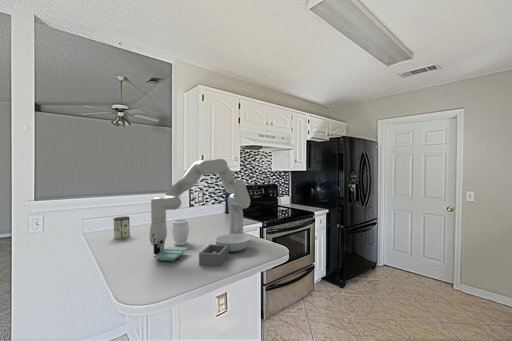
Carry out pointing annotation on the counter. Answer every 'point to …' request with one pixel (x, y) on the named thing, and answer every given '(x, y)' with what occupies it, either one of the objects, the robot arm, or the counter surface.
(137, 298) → the counter surface
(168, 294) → the counter surface
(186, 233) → the jar
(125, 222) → the coffee can
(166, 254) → the lid
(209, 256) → the tub
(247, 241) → the serving bowl
